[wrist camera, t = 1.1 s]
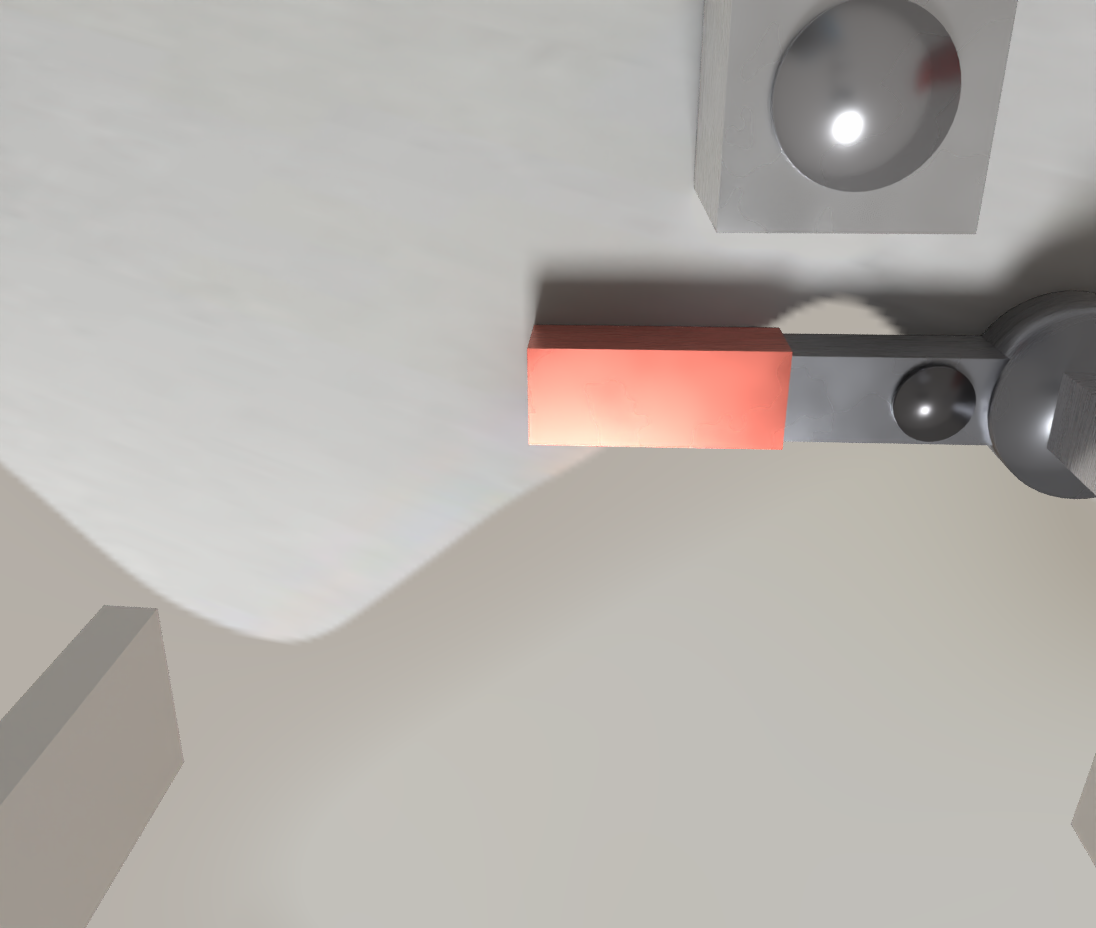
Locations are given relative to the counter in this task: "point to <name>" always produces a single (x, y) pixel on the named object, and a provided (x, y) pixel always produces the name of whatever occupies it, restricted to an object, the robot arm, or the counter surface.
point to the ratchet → (832, 389)
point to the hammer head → (848, 113)
